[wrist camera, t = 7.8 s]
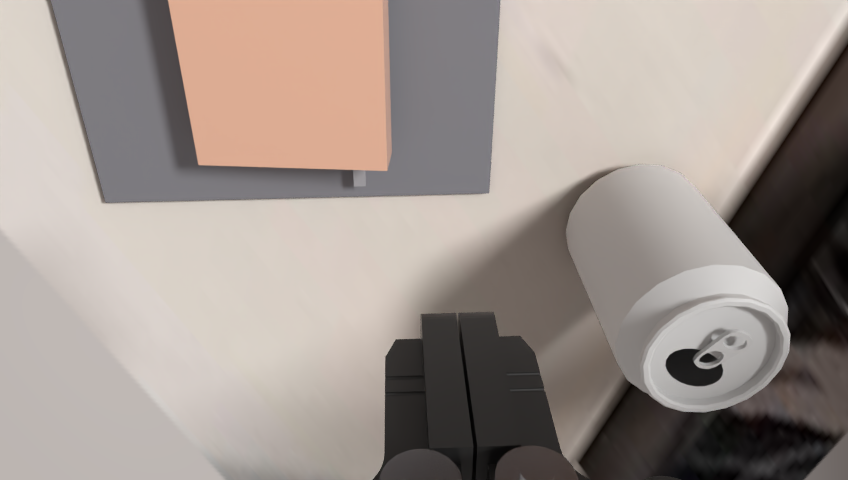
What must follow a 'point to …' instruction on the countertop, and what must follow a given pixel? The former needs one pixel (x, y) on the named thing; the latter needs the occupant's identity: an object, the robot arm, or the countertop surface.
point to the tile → (287, 82)
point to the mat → (186, 180)
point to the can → (676, 290)
